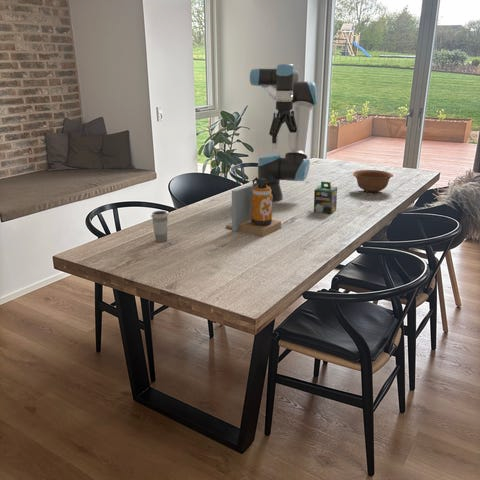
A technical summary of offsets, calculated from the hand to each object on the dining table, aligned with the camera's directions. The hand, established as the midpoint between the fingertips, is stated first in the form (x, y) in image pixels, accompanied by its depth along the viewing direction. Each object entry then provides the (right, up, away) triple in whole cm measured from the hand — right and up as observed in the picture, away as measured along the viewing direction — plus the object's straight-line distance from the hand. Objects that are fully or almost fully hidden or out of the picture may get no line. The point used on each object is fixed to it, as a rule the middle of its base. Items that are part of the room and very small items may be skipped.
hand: (283, 148), depth 225 cm
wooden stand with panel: (-12, -36, -7) cm, 39 cm away
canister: (-11, -35, -11) cm, 38 cm away
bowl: (+54, -15, +51) cm, 76 cm away
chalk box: (+22, -28, +16) cm, 39 cm away
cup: (-52, -43, -24) cm, 72 cm away
